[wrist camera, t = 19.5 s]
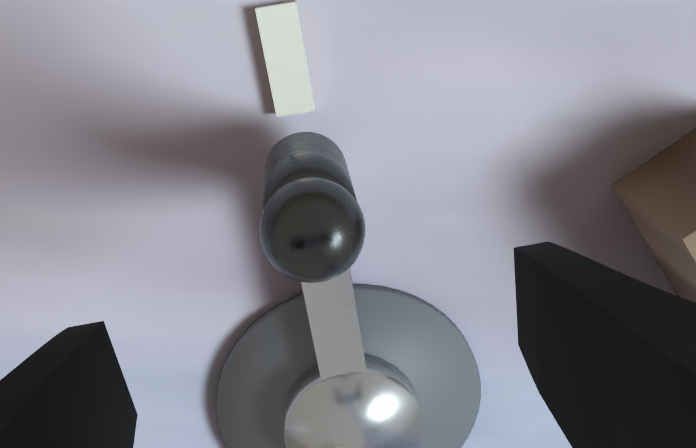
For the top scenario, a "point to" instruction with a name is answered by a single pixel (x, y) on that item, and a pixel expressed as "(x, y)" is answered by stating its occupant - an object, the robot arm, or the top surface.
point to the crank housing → (372, 309)
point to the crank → (330, 304)
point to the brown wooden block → (667, 210)
